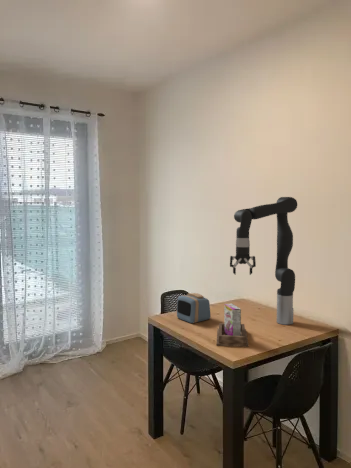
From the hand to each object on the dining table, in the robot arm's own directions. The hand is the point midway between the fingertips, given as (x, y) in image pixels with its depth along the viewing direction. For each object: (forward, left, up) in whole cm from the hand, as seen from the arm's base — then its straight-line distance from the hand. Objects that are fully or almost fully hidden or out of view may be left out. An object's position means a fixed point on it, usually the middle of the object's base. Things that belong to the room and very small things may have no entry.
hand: (242, 274), depth 220 cm
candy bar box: (+6, +14, -31) cm, 35 cm away
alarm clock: (+29, -18, -32) cm, 47 cm away
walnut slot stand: (+6, +14, -32) cm, 35 cm away
